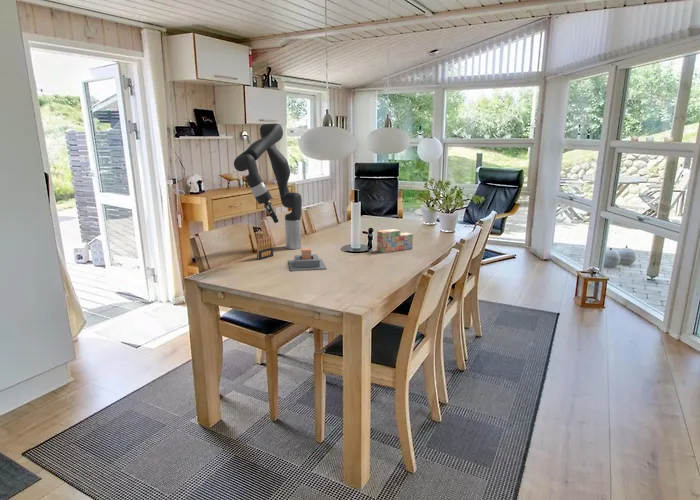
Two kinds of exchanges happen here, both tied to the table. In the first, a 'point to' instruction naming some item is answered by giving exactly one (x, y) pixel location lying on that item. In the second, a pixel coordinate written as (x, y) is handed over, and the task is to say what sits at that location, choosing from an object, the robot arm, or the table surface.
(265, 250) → the ammunition clip
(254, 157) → the robot arm
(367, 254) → the table surface
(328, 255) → the table surface
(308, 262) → the socket
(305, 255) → the block
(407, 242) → the stack of blocks
